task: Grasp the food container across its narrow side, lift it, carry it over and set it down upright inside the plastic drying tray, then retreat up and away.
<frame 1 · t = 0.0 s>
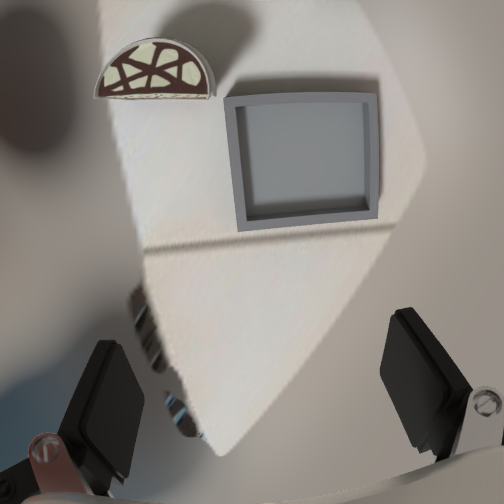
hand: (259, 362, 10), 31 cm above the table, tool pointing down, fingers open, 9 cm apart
drying tray: (303, 156, 38), on the table
food container: (171, 75, 33), on the table
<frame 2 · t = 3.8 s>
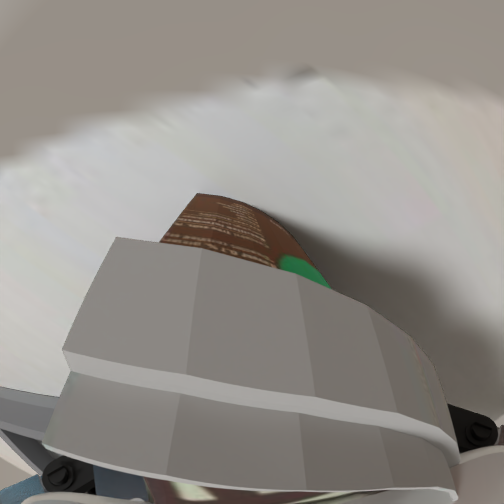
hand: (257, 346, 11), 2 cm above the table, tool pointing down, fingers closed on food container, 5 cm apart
drying tray: (127, 467, 19), on the table
food container: (269, 307, 13), on the table, touching gripper
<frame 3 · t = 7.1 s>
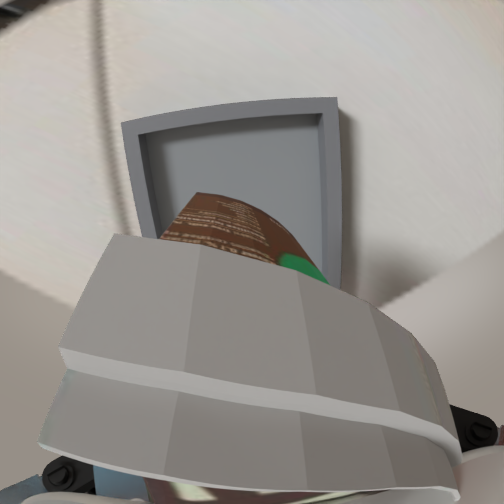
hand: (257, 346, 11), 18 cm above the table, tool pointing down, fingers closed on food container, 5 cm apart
drying tray: (240, 210, 27), on the table
food container: (269, 306, 13), point 15 cm above the table, touching gripper
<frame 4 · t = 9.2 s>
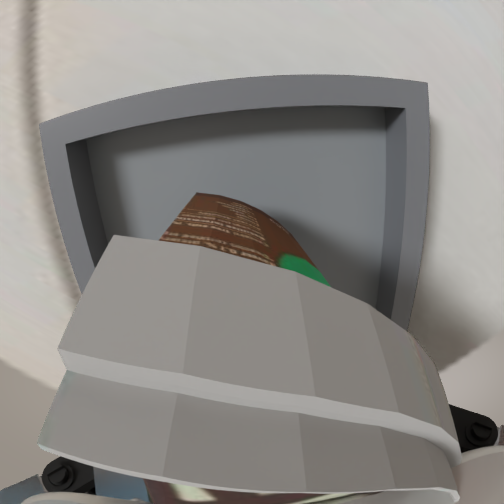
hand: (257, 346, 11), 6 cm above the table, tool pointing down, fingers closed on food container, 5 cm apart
drying tray: (250, 267, 16), on the table
food container: (269, 306, 13), point 4 cm above the table, touching gripper
when the fingers open (4 cm above the table, at t = 10.5 s): food container moves 1 cm, resting on drying tray.
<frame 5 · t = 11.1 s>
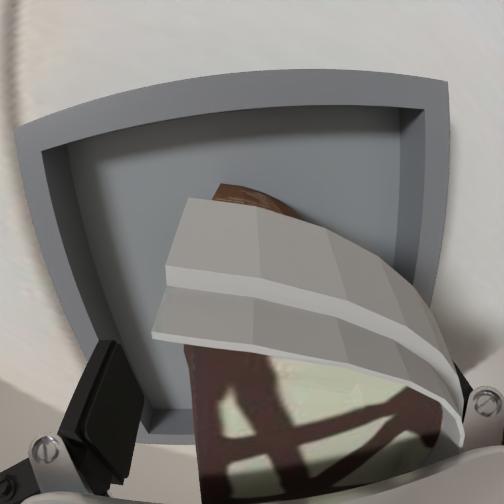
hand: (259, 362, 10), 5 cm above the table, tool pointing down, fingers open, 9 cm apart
drying tray: (249, 284, 15), on the table
food container: (285, 290, 14), point 1 cm above the table, touching drying tray, gripper
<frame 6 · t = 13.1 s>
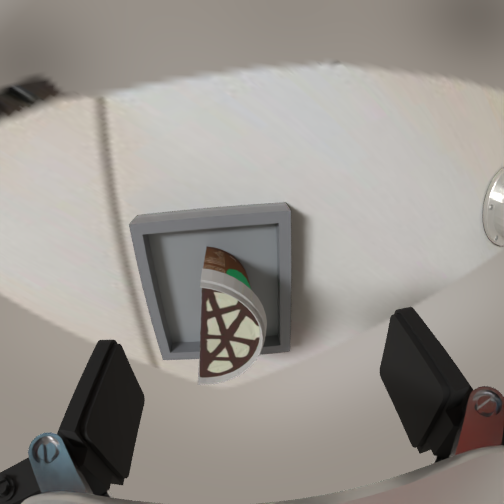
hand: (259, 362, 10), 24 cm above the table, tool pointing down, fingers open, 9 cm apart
drying tray: (217, 282, 37), on the table
food container: (231, 285, 36), point 1 cm above the table, touching drying tray
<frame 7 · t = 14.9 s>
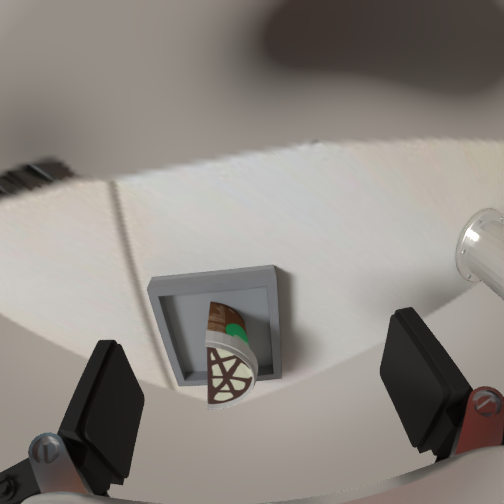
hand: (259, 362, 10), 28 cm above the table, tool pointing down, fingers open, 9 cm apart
drying tray: (221, 326, 44), on the table
food container: (232, 329, 43), point 1 cm above the table, touching drying tray
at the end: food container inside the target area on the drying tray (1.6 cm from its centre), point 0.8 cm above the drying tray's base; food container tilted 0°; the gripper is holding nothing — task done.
